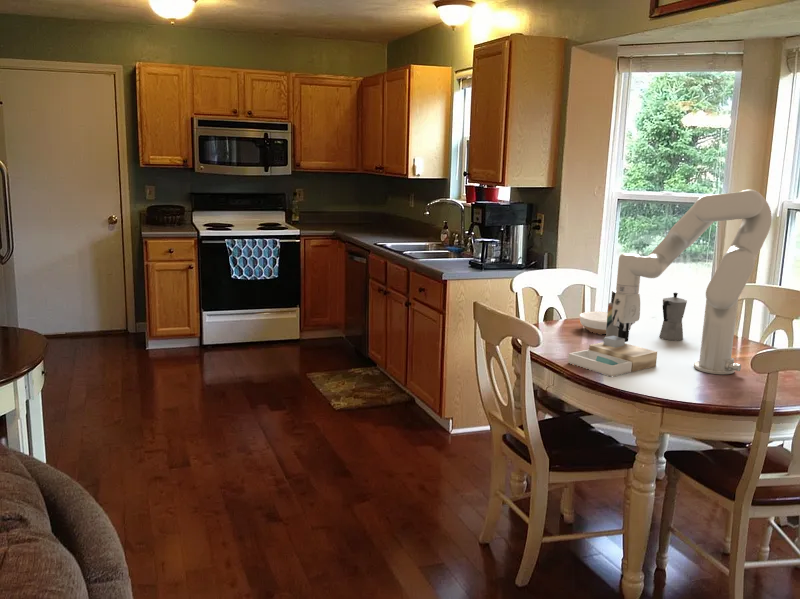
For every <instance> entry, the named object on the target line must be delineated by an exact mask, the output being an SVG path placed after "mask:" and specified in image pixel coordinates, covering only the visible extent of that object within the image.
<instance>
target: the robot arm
mask: <svg viewBox="0 0 800 599" xmlns="http://www.w3.org/2000/svg"><path fill="white" fill-rule="evenodd" d="M772 218H773V217H772V211H771V207H770V205H769V203H768V201H767V199H765V197H764V195H762V194H761V193H760V191H757V190H755V189H753V188H752V189H744V190H741V191H735V192H734V191H733V192H726V193H718V194H713V193H708V194H704V195H702V196H700V197H699V198H698V199H697V200H696V201H695V202H694V203H693V205H692V206H691V207H689V209H688V210H687V211H686V212H685V213H684V214H683V215H682V217H680V218H679V219H678V221H676V223H674V225H673V226H672V227H671V228H670V230H669V231H668V233H667V234H666V236H665V237H664V238H663V240H662V241H660V243H659V244H658V245H657V246H656V247H655V248H654V249H653V250H652V251H651V252H650V253H649V254H648V255H646V256H641V255H639V253H638V254H637V253H621V254H620V255H619V257H618V266H617V275H616V276H617V278H616V287H615V288H616V289H615V290H616V294H615V298H614V303H613V309H612V320H613V321H614V323H613V325H614V326H617V327H618V330H619V331H618V337H620V338H624V339H625V343H626V342H629V334H630V331H631V328H632V326H633V325H634V324H635V323H636V322H639V320H640V317H641V295H640V293H639V292H640V282H641V277H643V278H648V279H657V278H658V277H660V276H661V275H662V274H664V272H665V271H666V269H668V267H670V265H671V264H672V263H673V262H674V261H675V260H676V259H677V258H679V256H680V255H681V254H682V253H683V252H685V251H686V250H687V249H688V248H690V247H691V246H692V245H693V244H694V243H695V242H696V241H697V240H698V239H699V238H700V237H701V236H702V235H703V234H704V233H705V232H706V231H707V229H709V227H711V225H712V224H714V222H724V221H725V222H726V221H733V220H741V223H740V225H739V228H738V229H737V231H736V234H735V236H734V238H733V240H732V242H731V244H730V245H729V247H728V249H727V250H726V251H725V253H724V254H723V256H722V259H721V260H720V261H719V262H720V263H719V264H718V267H717V269H716V270H715V272H714V275H713V276H712V278H711V280H710V281H709V283H708V285H707V287H706V290H705V299H706V300H705V308H704V317H703V325H702V333H701V335H702V336H701V345H700V354H699V361H695V362H694V364H693V367H694V369H696V370H698V371H700V372H703V373H706V374H713V375H714V374H715V375H732V374H734V373H735V371H736V372H740V371H741V370H742V365H741V364H740V363H735V358H733V357H732V355H733V354H732V353H733V344H734V336H735V327H736V321H737V320H736V318H737V311H738V305H739V303H738V302H739V298H740V295H741V294H742V292H743V290H744V289H745V287H746V285H747V283H748V281H749V279H750V277H751V276H752V274H753V271H754V268H755V264H756V259H757V257H758V255H759V253H760V251H761V249H762V247H763V245H764V243H765V242H766V241H765V240H766V239H767V237H768V234H769V233H770V229H771V225H772Z"/></svg>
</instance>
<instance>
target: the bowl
mask: <svg viewBox="0 0 800 599" xmlns="http://www.w3.org/2000/svg"><path fill="white" fill-rule="evenodd" d="M607 315H608V311H585V312H582V313H579V321H580V324H581V325H582V327H584V328H585V329H586V330H587V331H588V332H590V333H592V332H593V334H596V333H598V334H597V335H602V334H606V327H607Z"/></svg>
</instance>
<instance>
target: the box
mask: <svg viewBox="0 0 800 599" xmlns="http://www.w3.org/2000/svg"><path fill="white" fill-rule="evenodd" d="M597 356H600V357H603V358H607V359H610V360H612V361H614V362H616V363H618V364H616V365H609V364H606V363H602V362H599V361H596V358H597ZM568 363H570V364H569V365H571V364H574V365H573V366H575V365H577V366H576V367H578V366H580V367H579V368H581V367H583V368H582V369H584V368H586V369H585V370H587V369H589V370H588V371H591V370H593V371H592V372H594V371H596V372H595V373H597V372H599V373H598V374H600V373H602V374H601V375H604V374H605V375H604V376H607V375H608V377H610V376H611V377H610V378H613V377H612V376H614V377H617V376H616V375H618V376H622V375H624V374H625V373H626V374H630V373H632V372H631V368H632V362H631V361H627V360H624V359H620V358H617V357H613V356H610V355H606V354H602V353H599V352H595V351H592V350H589V349H583V350H579V351H573V352H569V353H568V358H567V364H568ZM621 374H622V375H621Z"/></svg>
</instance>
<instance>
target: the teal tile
mask: <svg viewBox="0 0 800 599" xmlns="http://www.w3.org/2000/svg"><path fill="white" fill-rule="evenodd" d="M596 361H599V362H602V363H606V364H609V365H616V364H618V363H616V362H614V361H612V360H610V359H607V358H603V357H600V356H597V358H596Z"/></svg>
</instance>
